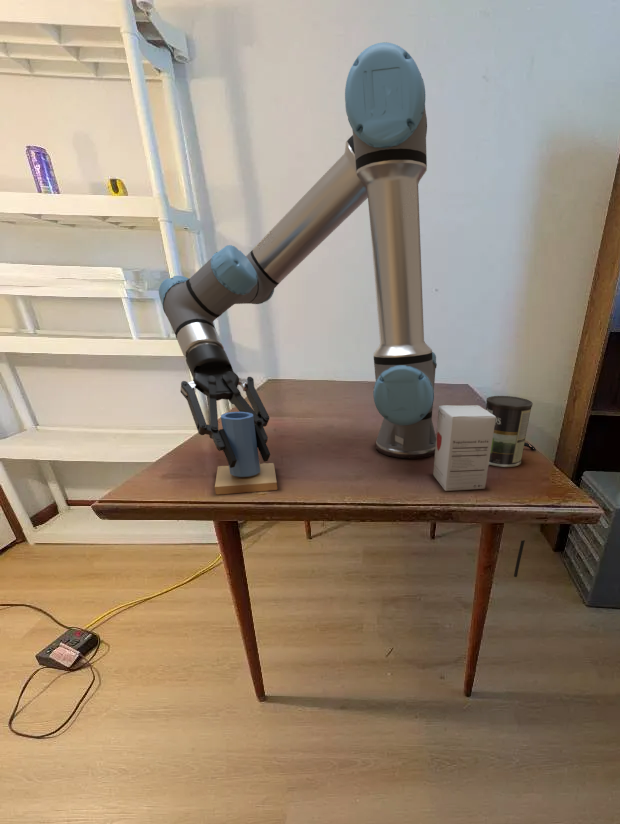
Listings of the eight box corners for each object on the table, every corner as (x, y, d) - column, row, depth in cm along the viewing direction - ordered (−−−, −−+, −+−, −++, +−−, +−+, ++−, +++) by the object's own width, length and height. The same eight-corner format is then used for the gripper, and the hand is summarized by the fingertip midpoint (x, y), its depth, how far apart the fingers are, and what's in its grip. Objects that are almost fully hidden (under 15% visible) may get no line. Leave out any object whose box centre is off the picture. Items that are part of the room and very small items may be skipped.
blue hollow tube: (259, 465, 87) (252, 411, 82) (260, 475, 83) (253, 418, 77) (230, 467, 86) (221, 412, 80) (229, 477, 81) (220, 419, 75)
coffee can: (493, 469, 97) (502, 406, 90) (470, 455, 106) (478, 396, 99) (530, 465, 101) (542, 404, 94) (506, 451, 109) (515, 394, 102)
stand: (274, 469, 91) (268, 420, 86) (277, 489, 82) (271, 435, 77) (219, 473, 88) (209, 422, 83) (216, 494, 79) (205, 438, 74)
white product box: (431, 475, 93) (437, 404, 85) (470, 473, 94) (479, 404, 87) (444, 491, 85) (451, 415, 77) (486, 489, 87) (497, 415, 79)
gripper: (249, 365, 91) (291, 461, 88) (151, 370, 80) (196, 479, 78) (256, 341, 85) (301, 443, 82) (151, 343, 74) (200, 460, 72)
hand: (250, 460), depth 80 cm, fingers closed on blue hollow tube, 6 cm apart
